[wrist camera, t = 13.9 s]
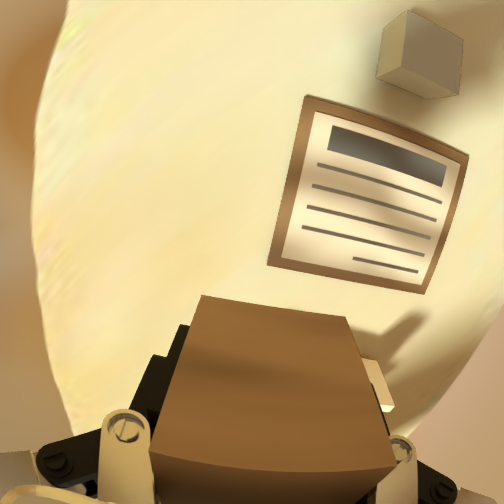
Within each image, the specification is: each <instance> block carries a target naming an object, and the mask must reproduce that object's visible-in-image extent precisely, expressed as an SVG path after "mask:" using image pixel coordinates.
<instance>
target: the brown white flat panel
mask: <svg viewBox="0 0 504 504" xmlns="http://www.w3.org/2000/svg"><path fill="white" fill-rule="evenodd" d="M468 161H469V157H467V156H465V155H463V154H461V153H459V152H457V151H455V150H453V149H451V148H449V147H447V146H445V145H443V144H441V143H438V142H436V141H434V140H432V139H429V138H427V137H425V136H422V135H420V134H418V133H415V132H413V131H410V130H408V129H405V128H403V127H400V126H398V125H395V124H392V123H390V122H387V121H384V120H382V119H379V118H376V117H373V116H370V115H367V114H364V113H361V112H358V111H355V110H352V109H348V108H345V107H342V106H338V105H335V104H331V103H328V102H324V101H321V100H317V99H313V98H309V97H304V100H303V105H302V110H301V114H300V119H299V124H298V128H297V133H296V137H295V142H294V147H293V151H292V156H291V160H290V165H289V169H288V174H287V178H286V183H285V187H284V191H283V196H282V200H281V205H280V209H279V213H278V218H277V222H276V226H275V231H274V235H273V239H272V244H271V248H270V252H269V256H268V261H267V265H268V266H273V267H278V268H283V269H289V270H294V271H299V272H304V273H309V274H315V275H320V276H325V277H331V278H336V279H341V280H347V281H352V282H357V283H363V284H368V285H374V286H379V287H384V288H390V289H395V290H401V291H406V292H412V293H417V294H423V295H424V294H425V292H426V289H427V287H428V285H429V282H430V280H431V278H432V275H433V273H434V270H435V268H436V265H437V263H438V260H439V258H440V255H441V252H442V249H443V247H444V244H445V241H446V238H447V235H448V232H449V229H450V226H451V223H452V220H453V217H454V214H455V211H456V207H457V204H458V200H459V197H460V193H461V189H462V186H463V182H464V178H465V174H466V170H467V165H468Z"/></svg>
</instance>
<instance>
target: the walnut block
mask: <svg viewBox="0 0 504 504" xmlns="http://www.w3.org/2000/svg"><path fill="white" fill-rule="evenodd" d="M148 452H149V457H150V462H151V466H152V471H153V475H154V479H155V483H156V487H157V491H158V495H159V499H160V502H161V504H354V503H356V502H357V501H358V500H360V499H361V498H362V497H363V496H364V495H366V494H367V493H368V492H369V491H370V490H372V489H373V488H374V487H375V486H376V485H377V484H378V483H380V482H381V481H382V480H383V479H384V478H385V477H386V476H387V475H388V474H389V473H390V472H392V471H393V470H394V469H395V468H396V467H397V466H398V465H397V462H396V458H395V455H394V452H393V448H392V445H391V442H390V439H389V436H388V433H387V430H386V426H385V423H384V420H383V417H382V414H381V411H380V409H379V406H378V403H377V400H376V397H375V394H374V391H373V388H372V386H371V383H370V380H369V377H368V375H367V372H366V369H365V366H364V364H363V361H362V358H361V356H360V353H359V351H358V348H357V345H356V343H355V340H354V338H353V335H352V332H351V330H350V327H349V325H348V322H347V320H346V317H343V316H335V315H327V314H320V313H312V312H305V311H298V310H291V309H284V308H277V307H271V306H264V305H258V304H252V303H245V302H239V301H233V300H228V299H222V298H216V297H211V296H205V295H201V298H200V301H199V303H198V306H197V309H196V312H195V314H194V317H193V320H192V323H191V325H190V328H189V331H188V334H187V337H186V339H185V342H184V345H183V348H182V351H181V354H180V356H179V359H178V362H177V365H176V368H175V371H174V374H173V377H172V380H171V382H170V385H169V388H168V391H167V394H166V397H165V400H164V403H163V406H162V409H161V412H160V415H159V418H158V421H157V424H156V428H155V431H154V434H153V437H152V440H151V443H150V446H149V449H148Z"/></svg>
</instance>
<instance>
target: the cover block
mask: <svg viewBox="0 0 504 504" xmlns="http://www.w3.org/2000/svg"><path fill="white" fill-rule="evenodd" d="M462 54H463V39H461V38H459V37H458V36H456V35H454V34H453V33H451V32H449V31H448V30H446V29H444V28H442V27H440V26H439V25H437V24H435V23H433V22H431V21H429V20H427V19H425V18H423V17H421V16H419V15H417V14H415V13H413V12H411V11H409V10H406V11H405V12H404V13H402V14H401V15H400V16H399V17H397V18H396V19H395V20H393V21H392V22H391V23H390V24H388V25H387V26H386V27H385V28H383V34H382V41H381V48H380V54H379V60H378V66H377V72H376V78H377V79H380V80H383V81H385V82H388V83H390V84H393V85H395V86H398V87H400V88H402V89H405V90H407V91H409V92H412V93H414V94H416V95H418V96H421V97H423V98H425V99H433V98H440V97H448V96H456V95H459V87H460V78H461V67H462Z"/></svg>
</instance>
